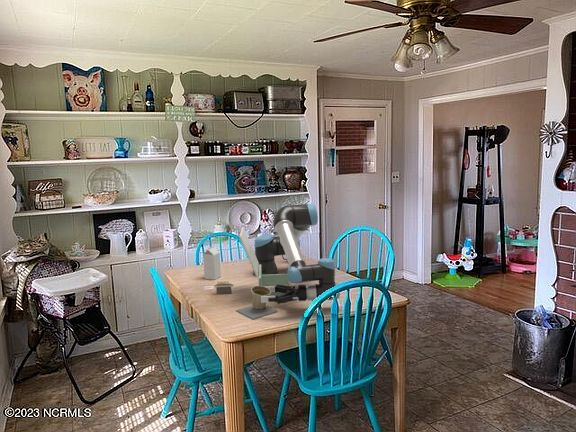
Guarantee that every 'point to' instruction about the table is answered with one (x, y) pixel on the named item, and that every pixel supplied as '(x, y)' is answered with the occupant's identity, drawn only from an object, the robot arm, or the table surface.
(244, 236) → the frame lid
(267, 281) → the cold frame
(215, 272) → the milk carton
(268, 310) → the mat
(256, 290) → the flower pot
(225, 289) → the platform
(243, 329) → the table surface
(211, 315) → the table surface
